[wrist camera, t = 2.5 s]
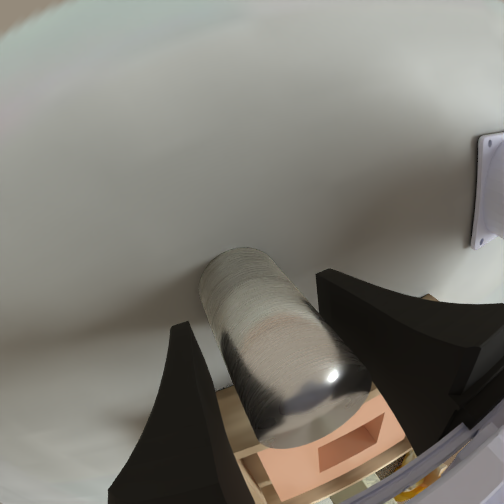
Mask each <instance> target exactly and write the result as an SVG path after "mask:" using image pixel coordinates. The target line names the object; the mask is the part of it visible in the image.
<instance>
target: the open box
mask: <svg viewBox="0 0 504 504" xmlns="http://www.w3.org/2000/svg"><path fill="white" fill-rule="evenodd" d="M422 299H426V300H432V301H438V300H437V299H435V298H434V297H433V296H431V295H430V294H427V295H426V296H424V297H422ZM215 393H216V396H217V400H218V404H219V408H220V412H221V416H222V420H223V423H224V427H225V431H226V434H227V437H228V440H229V443H230V446H231V448H232V451H233V453H234V456H235V458H236V460H237V463H238V465H239V468H240V470H241V472H242V475H243V477H244V479H245V481H246V484H247V486H248V488H249V490H250V492H251V495H252V497H253V499H254V501H255V503H256V504H315V503H317V502H319V501H321V500H323V499H326V498H328V497H330V496H332V495H334V494H336V493H338V492H340V491H342V490H344V489H346V488H348V487H350V486H352V485H354V484H355V483H357V482H359V481H361V480H363V479H365V478H366V477H368V476H370V475H372V474H373V473H375V472H377V471H379V470H380V469H382V468H384V467H385V466H387V465H388V464H390V463H392V462H393V461H395V460H396V459H398V458H399V457H401V456H403V455H404V454H406V453H407V452H409V451H410V450H412V449H413V448H412V446H411V444H410V442H409V440H408V438H407V436H406V435H405V438H404V439H403V440H402V441H400V442H398V443H397V444H395V445H394V446H392V447H391V448H389V449H387V450H386V451H384V452H382V453H381V454H379V455H377V456H376V457H374V458H372V459H371V460H369V461H367V462H365V463H363V464H362V465H360V466H358V467H356V468H354V469H352V470H351V471H349V472H347V473H345V474H343V475H341V476H339V477H337V478H335V479H333V480H331V481H329V482H327V483H325V484H322V485H320V486H318V487H316V488H314V489H312V490H309V491H307V492H305V493H302V494H300V495H298V496H295V497H293V498H290V499H288V500H285V501H283V502H281V500H280V498H279V496H278V494H277V492H276V490H275V488H274V486H273V484H272V482H271V480H270V478H269V476H268V474H267V472H266V470H265V468H264V466H263V464H262V462H261V460H260V458H259V456H258V454H257V452H260V451H263V450H265V449H268V448H269V447H266V446H264V445H262V444H261V443H260V442H259V441H258V439H257V437H256V435H255V433H254V431H253V429H252V426H251V424H250V422H249V419H248V417H247V415H246V413H245V410H244V408H243V406H242V403H241V401H240V399H239V396H238V394H237V391H236V389H235V387H234V386H231V387H228V388H225V389H223V390H220V391H217V392H215ZM380 394H381V393H380V392H379V390H378V389H377V388H376V386H375V385H374V383H373V382H372V386H371V390H370V392H369V395H368V397H367V399H366V400H365V402H364V403H366V402H367V401H369V400H371V399H373V398H374V397H376V396H378V395H380ZM364 403H363V404H364Z"/></svg>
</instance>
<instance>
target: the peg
mask: <svg viewBox="0 0 504 504" xmlns="http://www.w3.org/2000/svg"><path fill="white" fill-rule="evenodd" d="M199 296H200V299H201V302H202V305H203V308H204V310H205V313H206V316H207V318H208V321H209V324H210V326H211V329H212V331H213V334H214V337H215V339H216V342H217V344H218V347H219V350H220V352H221V355H222V357H223V360H224V362H225V365H226V367H227V370H228V372H229V374H230V377H231V379H232V382H233V384H234V387H235V389H236V391H237V394H238V396H239V399H240V401H241V403H242V406H243V408H244V410H245V413H246V415H247V417H248V419H249V422H250V424H251V426H252V429H253V431H254V433H255V435H256V437H257V439H258V441H259V442H260V443H261V444H262V445H264V446H266V447H269V448H274V449H288V448H295V447H299V446H303V445H306V444H309V443H312V442H314V441H316V440H319V439H321V438H323V437H325V436H326V435H328V434H330V433H332V432H333V431H335V430H336V429H338V428H339V427H340V426H342V425H343V424H344V423H346V422H347V421H348V420H349V419H350V418H351V417H352V416H353V415H354V414H355V413H356V412H357V411H358V410H359V409H360V407H361V406H362V405H363V403H364V402H365V400H366V399H367V397H368V395H369V392H370V390H371V386H372V376H371V374H370V372H369V371H368V369H367V368H366V367H365V366H364V365H363V364H362V363H361V361H360V360H359V359H358V358H357V357H356V356H355V354H354V353H353V352H352V351H351V350H350V349H349V347H348V346H347V345H346V344H345V343H344V342H343V341H342V339H341V338H340V337H339V336H338V335H337V334H336V333H335V331H334V330H333V329H332V328H331V327H330V326H329V324H328V323H327V322H326V321H325V320H324V319H323V318H322V316H321V315H320V314H319V313H318V312H317V311H316V310H315V308H314V307H313V306H312V305H311V304H310V303H309V302H308V300H307V299H306V298H305V297H304V296H303V295H302V294H301V292H300V291H299V290H298V289H297V288H296V287H295V286H294V284H293V283H292V282H291V281H290V280H289V279H288V278H287V276H286V275H285V274H284V273H283V272H282V271H281V270H280V269H279V267H278V266H277V265H276V264H275V263H274V262H273V261H272V259H271V258H270V257H269V256H268V255H266V254H265V253H263V252H262V251H259V250H257V249H253V248H236V249H232V250H229V251H227V252H224V253H223V254H221V255H219V256H218V257H216V258H215V259H214V260H213V261H212V262H211V263H210V264H209V265H208V266H207V267H206V269H205V270H204V272H203V274H202V276H201V279H200V283H199Z"/></svg>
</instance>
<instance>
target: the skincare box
mask: <svg viewBox="0 0 504 504" xmlns="http://www.w3.org/2000/svg"><path fill="white" fill-rule="evenodd" d="M379 481H380V479H379V478H378V476H377V475H376V474H375V473H373V474H372V475H370V476H368V477H366V478H365V479H363V480H361V481H359V482H357V483H355V484H354V485H352V486H350V487H348V488H346V489H344V490H342V491H340V492H338V493H336V494H334V495H332V496H330V499H331V500H332V502H333V504H339V503H341V502H343V501H345V500H347V499H348V498H350V497H352V496H354V495H356V494H358V493H360V492H362V491H363V490H365V489H367V488H369V487H371V486H372V485H374V484H376V483H378V482H379ZM384 504H397V503H396V501H395V500H394V498H392V499H391V500H389V501H387V502H386V503H384Z"/></svg>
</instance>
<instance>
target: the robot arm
mask: <svg viewBox="0 0 504 504" xmlns="http://www.w3.org/2000/svg"><path fill="white" fill-rule="evenodd" d="M498 236H499V237H501V238H503V239H504V132H501V133H495V134H488V135H482V136H481V137H480V138H479V141H478V175H477V192H476V204H475V214H474V223H473V231H472V239H471V248H472V249H474V250H477V249H479V248H480V247H482V246H484V245H485V244H487V243H488V242H490V241H491V240H493V239H495V238H496V237H498ZM316 284H317V294H318V305H319V314H320V315H321V316H322V318H323V319H324V320H325V321H326V322H327V323H328V324H329V326H330V327H331V328H332V329H333V330H334V331H335V333H336V334H337V335H338V336H339V337H340V338H341V339H342V341H343V342H344V343H345V344H346V345H347V346H348V347H349V349H350V350H351V351H352V352H353V353H354V354H355V356H356V357H357V358H358V359H359V360H360V361H361V363H362V364H363V365H364V366H365V367H366V368H367V369H368V371H369V372H370V374H371V376H372V382H373V383H374V385H375V386H376V388H377V389H378V390H379V392H380V393H381V395H382V396H383V398H384V399H385V401H386V403H387V404H388V406H389V407H390V409H391V410H392V412H393V414H394V415H395V417H396V419H397V421H398V422H399V424H400V426H401V427H402V429H403V431H404V433H405V435H406V436H407V438H408V440H409V442H410V444H411V446H412V448H413V450H414V452H415V454H416V456H417V458H415V459H414V460H412V461H411V462H409V463H408V464H406V465H405V466H403V467H402V468H400V469H399V470H397V471H396V472H394V473H392V474H391V475H389V476H388V477H386V478H384V479H383V480H381V481H379V482H378V483H376V484H374V485H372V486H371V487H369V488H367V489H365V490H363V491H362V492H360V493H358V494H356V495H354V496H352V497H350V498H348V499H347V500H345V501H343V502H341V503H339V504H384V503H386V502H387V501H389V500H391V499H392V498H394V497H395V496H397V495H399V494H400V493H402V492H403V491H405V490H406V489H408V488H409V487H411V486H412V485H414V484H415V483H417V482H418V481H420V480H421V479H422V478H424V477H425V476H427V475H428V474H429V473H431V472H432V471H433V470H435V469H436V468H437V467H439V466H440V465H441V464H442V463H444V462H445V461H446V460H447V459H449V458H450V457H451V456H453V455H454V454H455V453H456V452H457V451H458V450H460V449H461V448H462V447H463V446H464V445H466V443H468V442H469V441H470V440H471V439H472V440H471V441H470V442H469V443H468V444H467V445H466V446H465V447H464V448H463V449H462V450H461V451H460V452H459V453H458V454H457V456H456V458H455V459H454V461H453V462H452V463H451V464H450V466H449V467H448V468H447V469H446V470H445V471H444V472H443V473H442V474H441V477H440V478H439V479H438V480H436V481H435V482H434V483H432V484H431V485H430V486H428V487H427V488H425V489H424V490H423V491H421V492H420V493H418V494H417V495H416V496H414V497H413V498H411V499H410V500H408V501H407V502H405V503H404V504H504V304H503V303H497V304H457V303H447V302H439V301H432V300H426V299H422V298H417V297H412V296H408V295H404V294H401V293H397V292H394V291H391V290H387V289H384V288H381V287H379V286H376V285H373V284H370V283H367V282H365V281H362V280H359V279H357V278H354V277H352V276H349V275H346V274H344V273H341V272H338V271H336V270H333V269H327V270H324V271H322V272H319V273H317V274H316ZM108 504H256V503H255V501H254V499H253V497H252V495H251V492H250V490H249V488H248V486H247V484H246V481H245V479H244V477H243V475H242V472H241V470H240V468H239V465H238V463H237V460H236V458H235V456H234V453H233V451H232V448H231V446H230V443H229V440H228V437H227V434H226V431H225V427H224V423H223V420H222V416H221V412H220V408H219V404H218V400H217V396H216V393H215V389H214V385H213V381H212V378H211V376H210V373H209V370H208V367H207V365H206V362H205V359H204V357H203V355H202V352H201V350H200V348H199V345H198V343H197V341H196V338H195V336H194V333H193V331H192V329H191V326H190V324H189V321H186V322H183V323H180V324H177V325H174V326H172V327H171V329H170V339H169V347H168V353H167V358H166V363H165V368H164V372H163V376H162V380H161V384H160V387H159V391H158V394H157V397H156V400H155V403H154V406H153V409H152V412H151V414H150V417H149V419H148V421H147V424H146V426H145V428H144V431H143V433H142V435H141V437H140V439H139V441H138V443H137V445H136V447H135V448H134V450H133V452H132V454H131V456H130V457H129V459H128V461H127V463H126V464H125V466H124V467H123V469H122V470H121V472H120V473H119V475H118V476H117V478H116V479H115V481H114V482H113V483H112V485H111V486H110V488H109V489H108Z"/></svg>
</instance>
